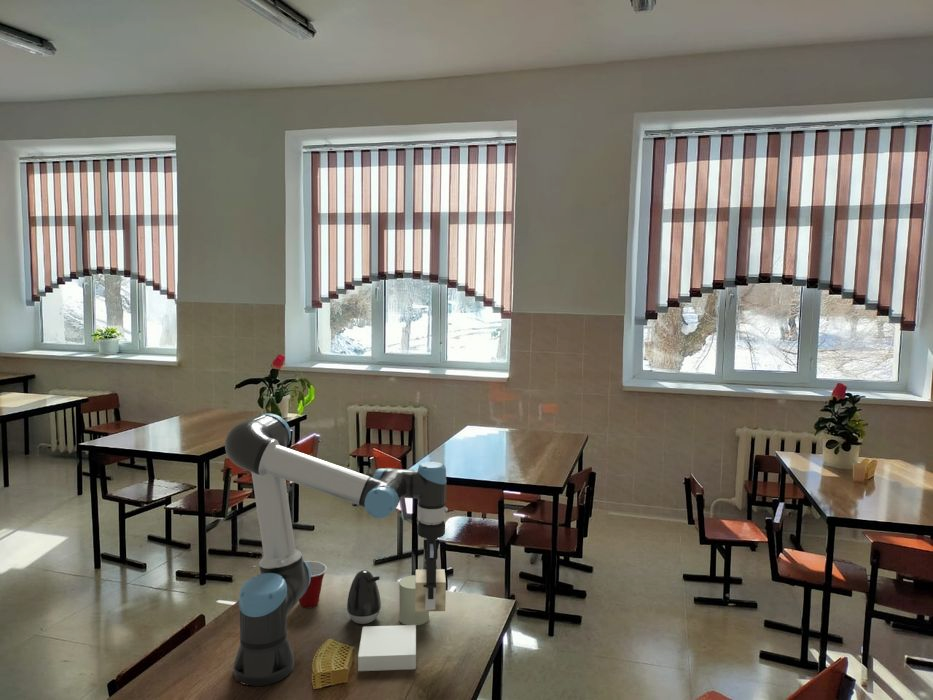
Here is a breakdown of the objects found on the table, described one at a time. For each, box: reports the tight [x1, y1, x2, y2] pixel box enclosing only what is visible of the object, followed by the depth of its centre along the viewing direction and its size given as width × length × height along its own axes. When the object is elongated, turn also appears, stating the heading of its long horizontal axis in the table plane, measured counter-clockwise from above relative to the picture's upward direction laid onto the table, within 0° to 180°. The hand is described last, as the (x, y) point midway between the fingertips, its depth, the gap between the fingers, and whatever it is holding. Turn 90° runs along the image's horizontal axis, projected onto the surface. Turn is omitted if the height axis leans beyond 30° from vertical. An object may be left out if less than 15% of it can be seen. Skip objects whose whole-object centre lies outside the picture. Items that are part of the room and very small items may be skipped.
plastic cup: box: [298, 560, 327, 609], centre depth 201 cm, size 11×11×12 cm
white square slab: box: [357, 624, 417, 672], centre depth 174 cm, size 15×15×4 cm
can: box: [398, 574, 430, 627], centre depth 193 cm, size 9×9×12 cm
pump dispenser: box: [346, 569, 382, 625], centre depth 191 cm, size 10×10×15 cm
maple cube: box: [415, 568, 447, 612], centre depth 173 cm, size 8×8×8 cm
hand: (429, 601), depth 173 cm, fingers closed on maple cube, 8 cm apart
